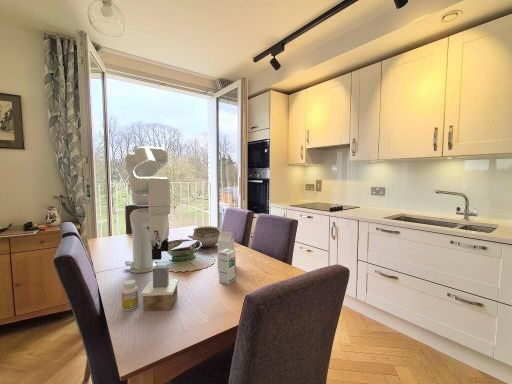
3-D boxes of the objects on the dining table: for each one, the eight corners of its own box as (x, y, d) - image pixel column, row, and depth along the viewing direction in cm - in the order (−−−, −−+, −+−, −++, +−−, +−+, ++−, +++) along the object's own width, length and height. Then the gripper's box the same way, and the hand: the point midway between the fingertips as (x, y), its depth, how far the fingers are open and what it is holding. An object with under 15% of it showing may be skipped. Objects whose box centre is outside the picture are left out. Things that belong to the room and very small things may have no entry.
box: (143, 311, 90) (142, 295, 89) (152, 297, 100) (151, 282, 99) (171, 309, 91) (171, 294, 90) (177, 296, 101) (177, 282, 100)
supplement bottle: (126, 303, 95) (125, 279, 94) (140, 303, 95) (140, 278, 94) (119, 311, 89) (118, 285, 89) (135, 310, 90) (134, 285, 89)
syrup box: (228, 284, 111) (228, 253, 110) (218, 281, 115) (218, 251, 113) (235, 280, 116) (236, 250, 115) (226, 277, 119) (226, 248, 118)
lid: (140, 295, 89) (140, 273, 88) (150, 282, 100) (150, 262, 99) (172, 294, 90) (171, 272, 89) (178, 281, 101) (178, 261, 100)
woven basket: (220, 241, 182) (220, 225, 181) (228, 248, 165) (228, 230, 164) (185, 245, 172) (185, 227, 171) (190, 253, 155) (190, 234, 154)
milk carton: (230, 269, 129) (230, 234, 128) (217, 268, 130) (217, 233, 129) (234, 264, 136) (234, 230, 134) (221, 263, 137) (221, 230, 136)
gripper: (156, 207, 100) (157, 248, 101) (140, 213, 83) (142, 263, 84) (175, 207, 101) (176, 248, 102) (163, 213, 84) (164, 262, 85)
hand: (160, 255), depth 93 cm, fingers open, 9 cm apart
